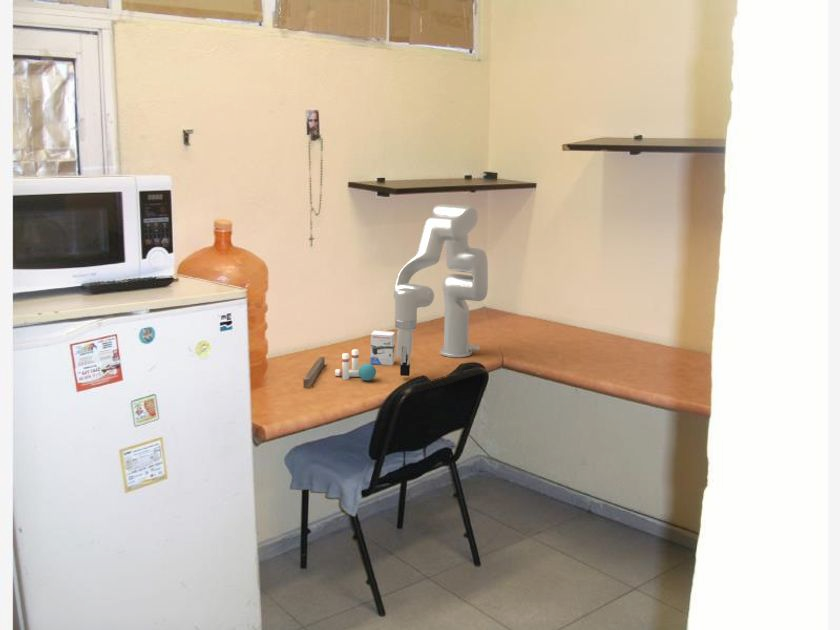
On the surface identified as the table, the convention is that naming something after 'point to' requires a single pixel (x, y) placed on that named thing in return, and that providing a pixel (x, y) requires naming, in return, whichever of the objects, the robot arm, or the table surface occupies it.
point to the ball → (367, 372)
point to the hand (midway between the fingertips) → (404, 375)
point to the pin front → (351, 373)
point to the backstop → (313, 372)
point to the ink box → (382, 348)
